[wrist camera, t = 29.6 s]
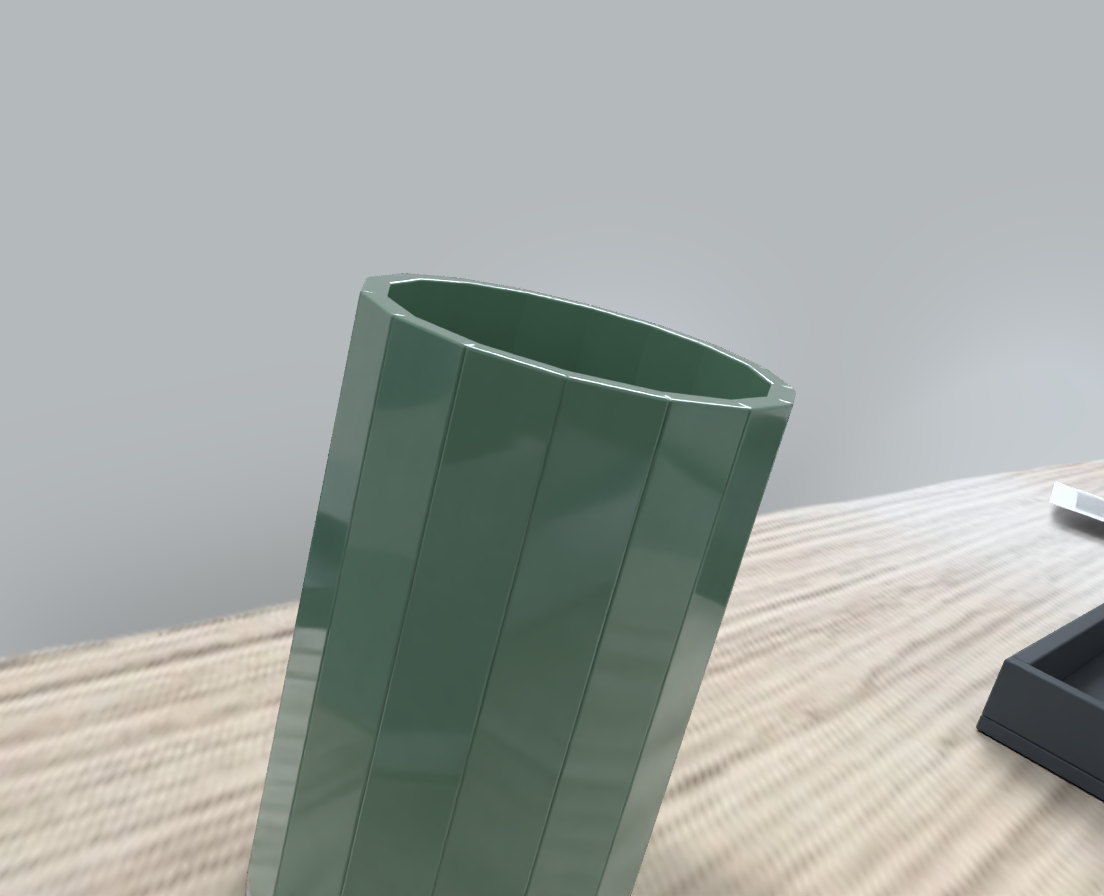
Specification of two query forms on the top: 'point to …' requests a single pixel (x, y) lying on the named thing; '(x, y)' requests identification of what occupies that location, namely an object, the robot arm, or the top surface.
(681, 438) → the tumbler
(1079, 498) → the touchpad
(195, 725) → the top surface
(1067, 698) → the tray
